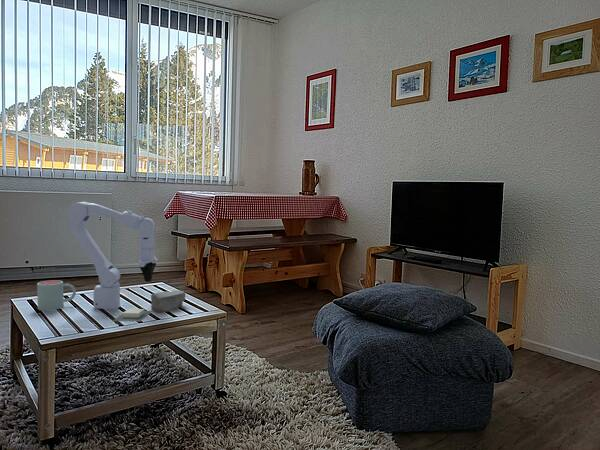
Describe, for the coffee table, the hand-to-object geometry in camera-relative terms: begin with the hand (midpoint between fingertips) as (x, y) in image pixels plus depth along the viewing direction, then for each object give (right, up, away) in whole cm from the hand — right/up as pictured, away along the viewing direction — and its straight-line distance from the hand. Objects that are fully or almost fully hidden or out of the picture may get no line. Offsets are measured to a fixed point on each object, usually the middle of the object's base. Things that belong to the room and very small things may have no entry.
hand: (148, 281), depth 194 cm
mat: (-1, -12, -14) cm, 19 cm away
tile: (-1, -10, -11) cm, 15 cm away
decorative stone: (+8, -11, -2) cm, 14 cm away
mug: (-36, -10, -2) cm, 37 cm away
